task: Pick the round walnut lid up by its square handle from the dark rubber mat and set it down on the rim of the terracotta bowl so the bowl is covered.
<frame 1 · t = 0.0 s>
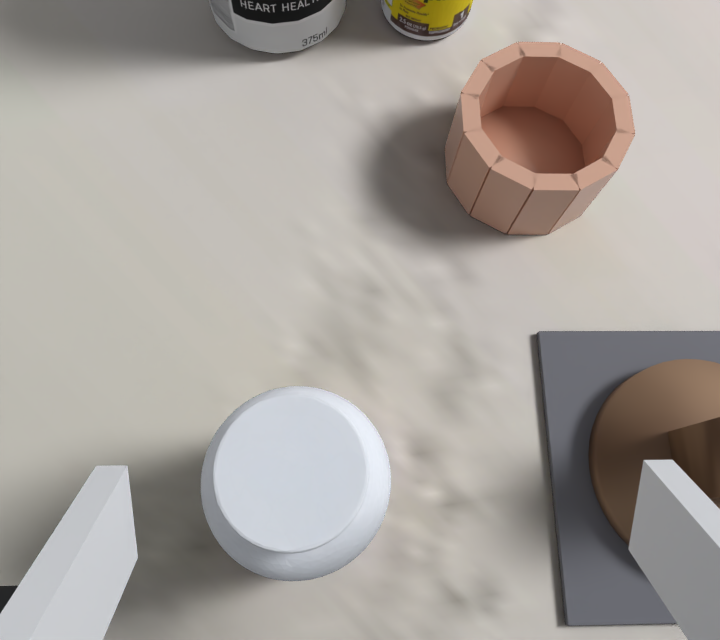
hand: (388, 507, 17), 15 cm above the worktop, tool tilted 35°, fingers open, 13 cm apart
supplement bottle 2: (424, 11, 41), on the worktop
supplement can: (279, 8, 40), on the worktop
mat: (688, 467, 33), on the worktop
lid: (692, 467, 32), resting on mat
supplement bottle: (306, 493, 32), on the worktop
bowl: (520, 165, 37), on the worktop
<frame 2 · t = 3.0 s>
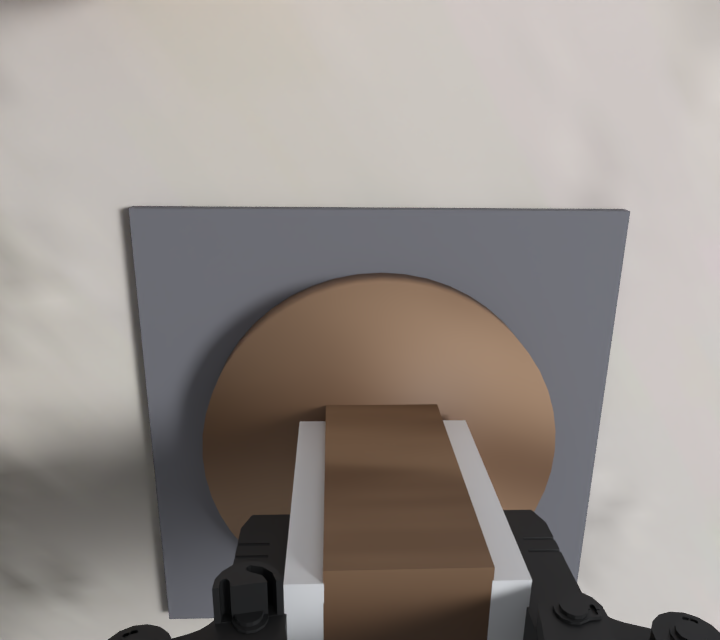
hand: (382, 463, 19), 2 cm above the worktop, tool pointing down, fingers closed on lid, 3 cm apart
mat: (377, 428, 21), on the worktop
lid: (377, 434, 20), resting on mat, touching gripper
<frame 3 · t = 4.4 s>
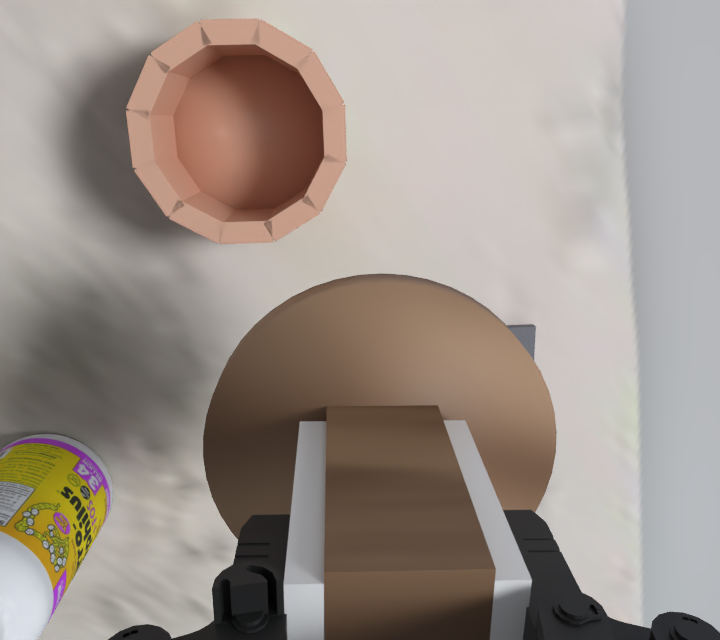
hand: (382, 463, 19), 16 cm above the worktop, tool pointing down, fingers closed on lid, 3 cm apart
mat: (401, 450, 36), on the worktop
lid: (378, 435, 20), point 14 cm above the worktop, touching gripper
supplement bottle: (56, 481, 36), on the worktop
bowl: (251, 134, 31), on the worktop
when the fingers open (8 cm above the worktop, at t = 6.0 s): lid drops 1 cm, resting on bowl.
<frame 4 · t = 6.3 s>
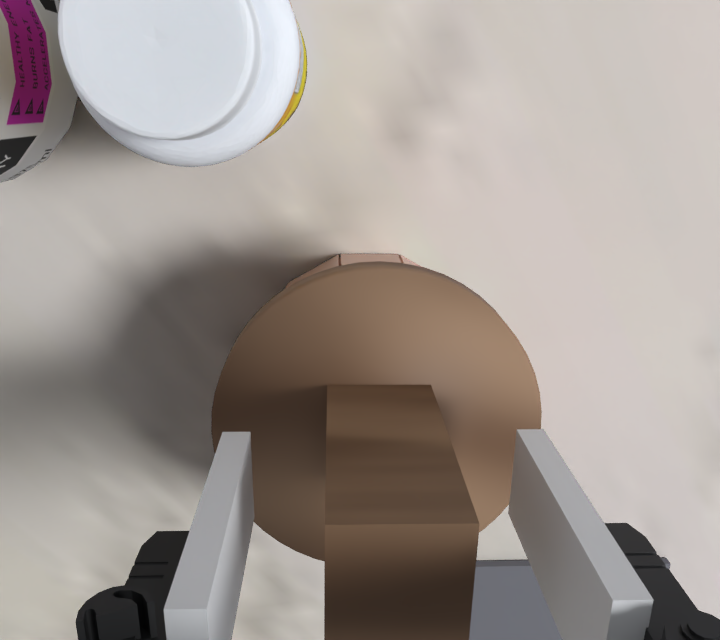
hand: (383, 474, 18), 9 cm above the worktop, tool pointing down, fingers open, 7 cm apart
supplement bottle 2: (230, 65, 23), on the worktop
lid: (375, 413, 22), point 5 cm above the worktop, touching bowl
bowl: (367, 357, 26), on the worktop
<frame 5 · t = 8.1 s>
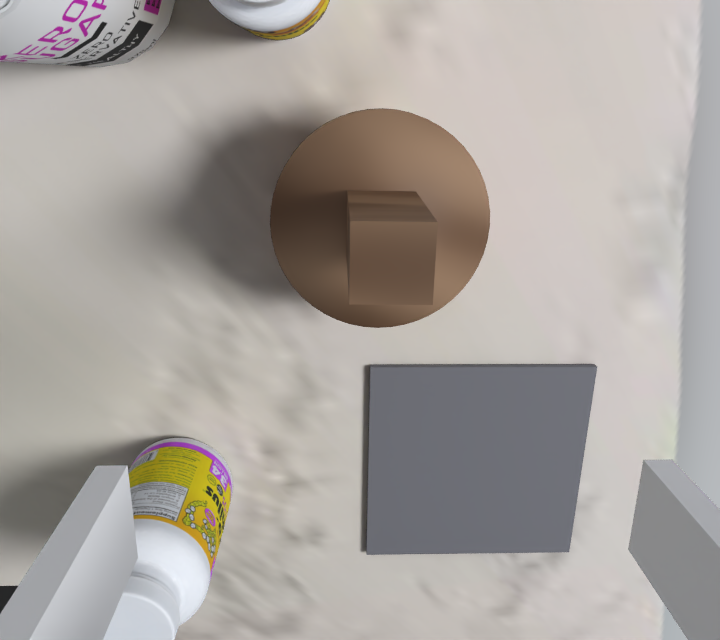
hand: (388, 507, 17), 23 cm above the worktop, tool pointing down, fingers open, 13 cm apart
mat: (474, 462, 43), on the worktop
lid: (379, 219, 32), point 5 cm above the worktop, touching bowl
supplement bottle: (184, 475, 43), on the worktop
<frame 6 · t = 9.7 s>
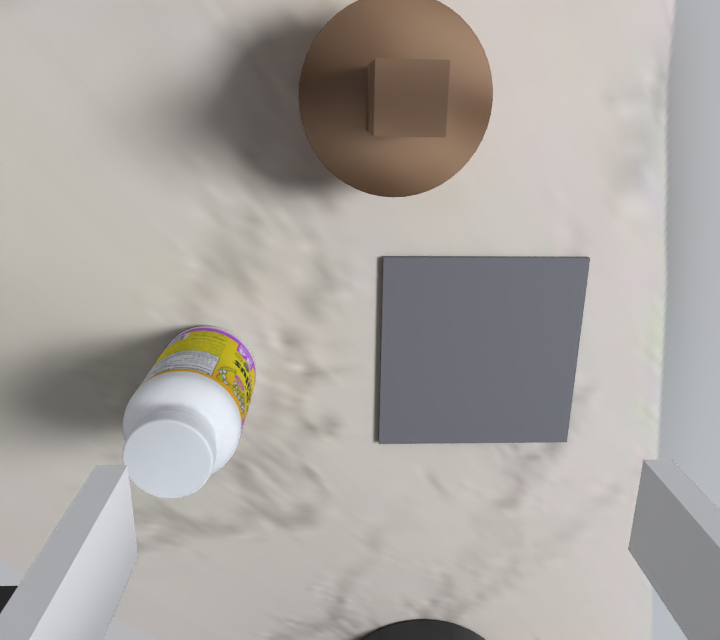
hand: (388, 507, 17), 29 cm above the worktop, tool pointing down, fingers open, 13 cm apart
mat: (478, 352, 46), on the worktop
lid: (394, 99, 36), point 5 cm above the worktop, touching bowl
supplement bottle: (211, 365, 46), on the worktop
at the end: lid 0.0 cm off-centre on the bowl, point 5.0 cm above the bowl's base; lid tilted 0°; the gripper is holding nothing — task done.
